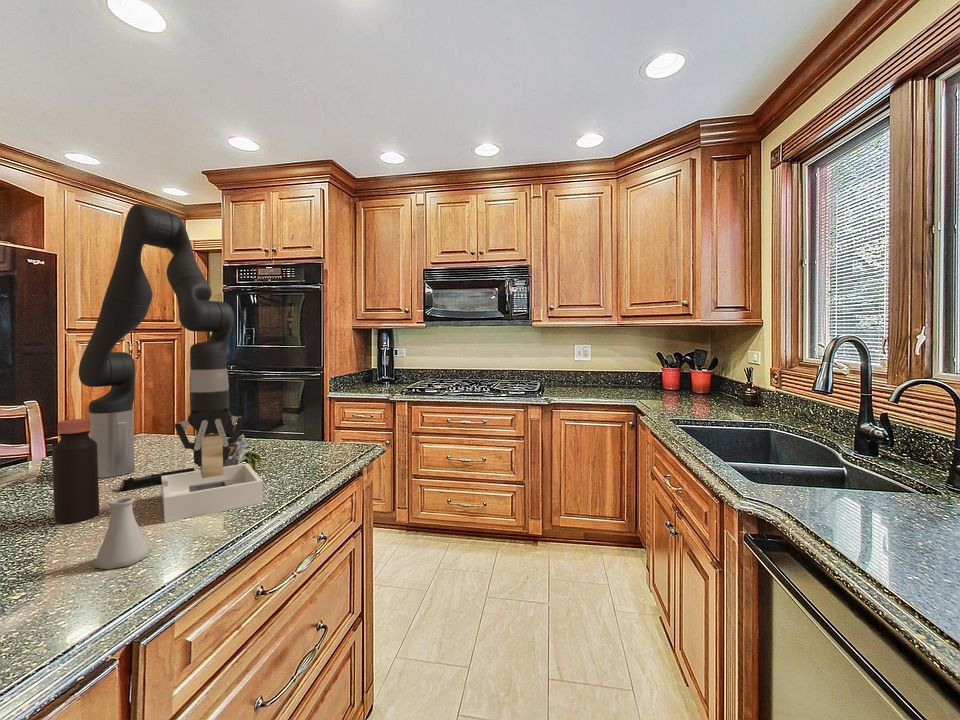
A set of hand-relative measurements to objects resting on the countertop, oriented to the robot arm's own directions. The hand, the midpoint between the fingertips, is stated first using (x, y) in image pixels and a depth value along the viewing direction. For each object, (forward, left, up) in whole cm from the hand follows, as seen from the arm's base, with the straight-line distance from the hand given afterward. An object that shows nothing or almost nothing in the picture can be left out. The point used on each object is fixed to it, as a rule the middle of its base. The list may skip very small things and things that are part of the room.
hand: (211, 463), depth 100 cm
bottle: (-5, -23, -9) cm, 25 cm away
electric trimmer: (-22, -10, -9) cm, 26 cm away
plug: (0, 0, -2) cm, 2 cm away
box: (0, 0, -8) cm, 8 cm away
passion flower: (-23, +9, -9) cm, 26 cm away
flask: (+23, -15, -9) cm, 29 cm away
